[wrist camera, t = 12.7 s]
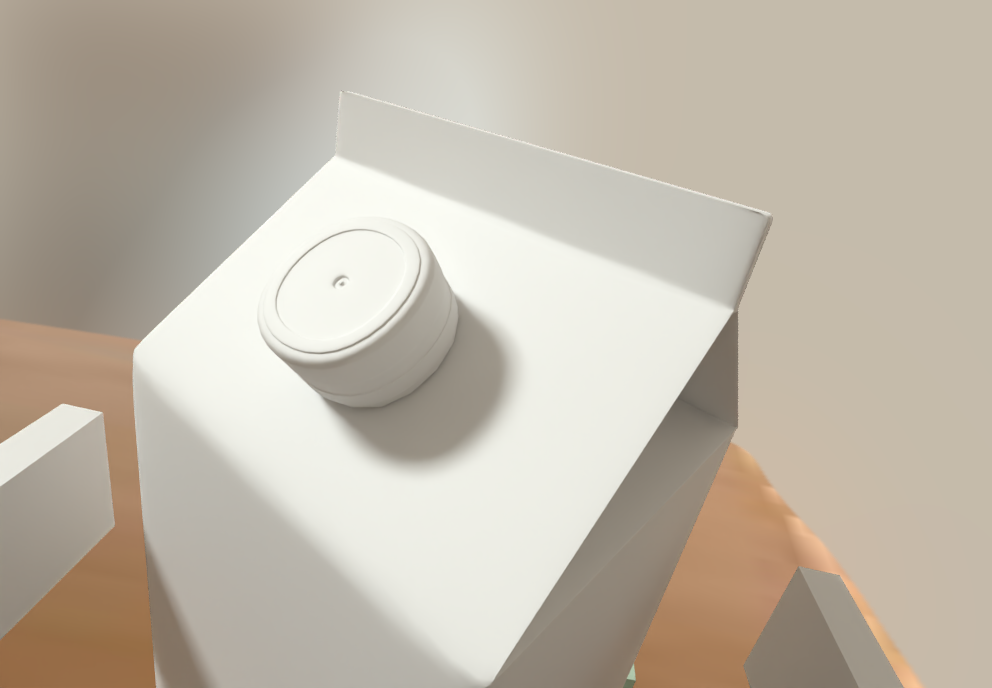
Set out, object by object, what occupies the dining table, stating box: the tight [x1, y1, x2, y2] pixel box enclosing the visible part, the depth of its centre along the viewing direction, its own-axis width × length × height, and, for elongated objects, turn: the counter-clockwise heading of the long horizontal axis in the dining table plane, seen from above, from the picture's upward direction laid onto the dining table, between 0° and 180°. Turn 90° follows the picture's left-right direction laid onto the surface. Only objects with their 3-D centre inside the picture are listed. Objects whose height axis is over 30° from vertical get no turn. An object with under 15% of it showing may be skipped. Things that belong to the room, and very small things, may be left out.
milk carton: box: [133, 91, 773, 688], centre depth 12 cm, size 7×7×19 cm
